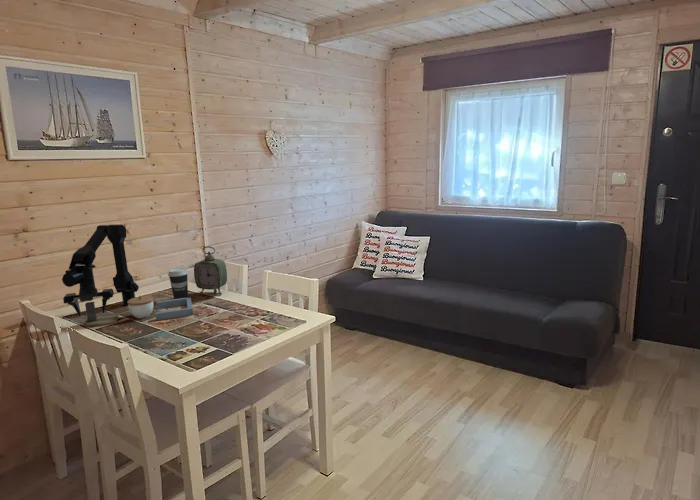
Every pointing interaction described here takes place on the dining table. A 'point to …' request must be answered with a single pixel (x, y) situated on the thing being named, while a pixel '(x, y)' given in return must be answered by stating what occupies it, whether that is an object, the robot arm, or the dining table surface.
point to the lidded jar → (141, 306)
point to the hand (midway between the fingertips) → (92, 314)
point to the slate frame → (174, 313)
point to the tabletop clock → (210, 273)
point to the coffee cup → (179, 282)
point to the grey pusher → (98, 317)
